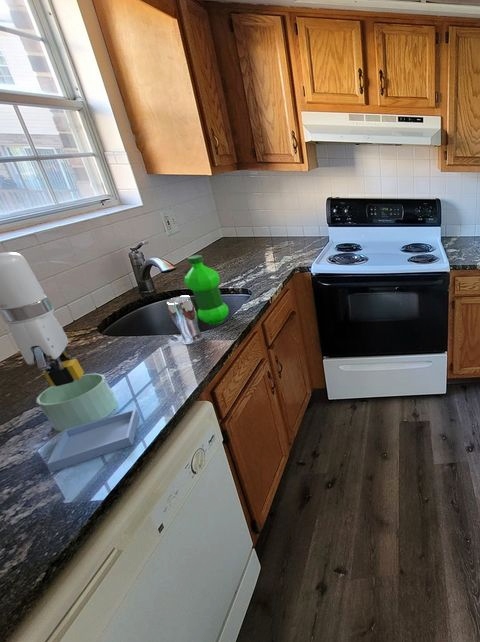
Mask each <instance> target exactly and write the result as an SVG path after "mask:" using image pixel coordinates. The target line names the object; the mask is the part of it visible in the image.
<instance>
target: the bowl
mask: <svg viewBox="0 0 480 642" xmlns="http://www.w3.org/2000/svg"><path fill="white" fill-rule="evenodd" d="M35 399H36V401H35V402H36V404H37V405H38V407H39V409H40V410H41V412H42V413H43V415H44V417H45V418H46V419H47V421H48V422H49V424H50V426H51V427H52V428H53V430H55V431H56V432H60V433H61V432H62V433H63V431H64V430H66V429H70V428H73V427H76V426H80V425H83V424H86V423H90V422H93V421H96V420H100V419H103V418H106V417H109V415H110V414H112V413H113V412H114V411H115V410H116V408H117V407H118V404H119V402H118V400H117V398H116V396H115V394H114V392H113V390H112V388H111V386H110V384H109V383H108V381H107V379H106V377H105V375H104V374H101V373H95V372H94V373H86V374H83V375H82V377H81V378H80V379H79V380H75V381H73V382H72V383H68V384H64V385H61V386H51V385H50V386H49V387H48V388H46V389H45V390H44V391H42V392H41V393H39V395H38V396H36V398H35ZM114 409H115V410H114Z"/></svg>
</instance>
